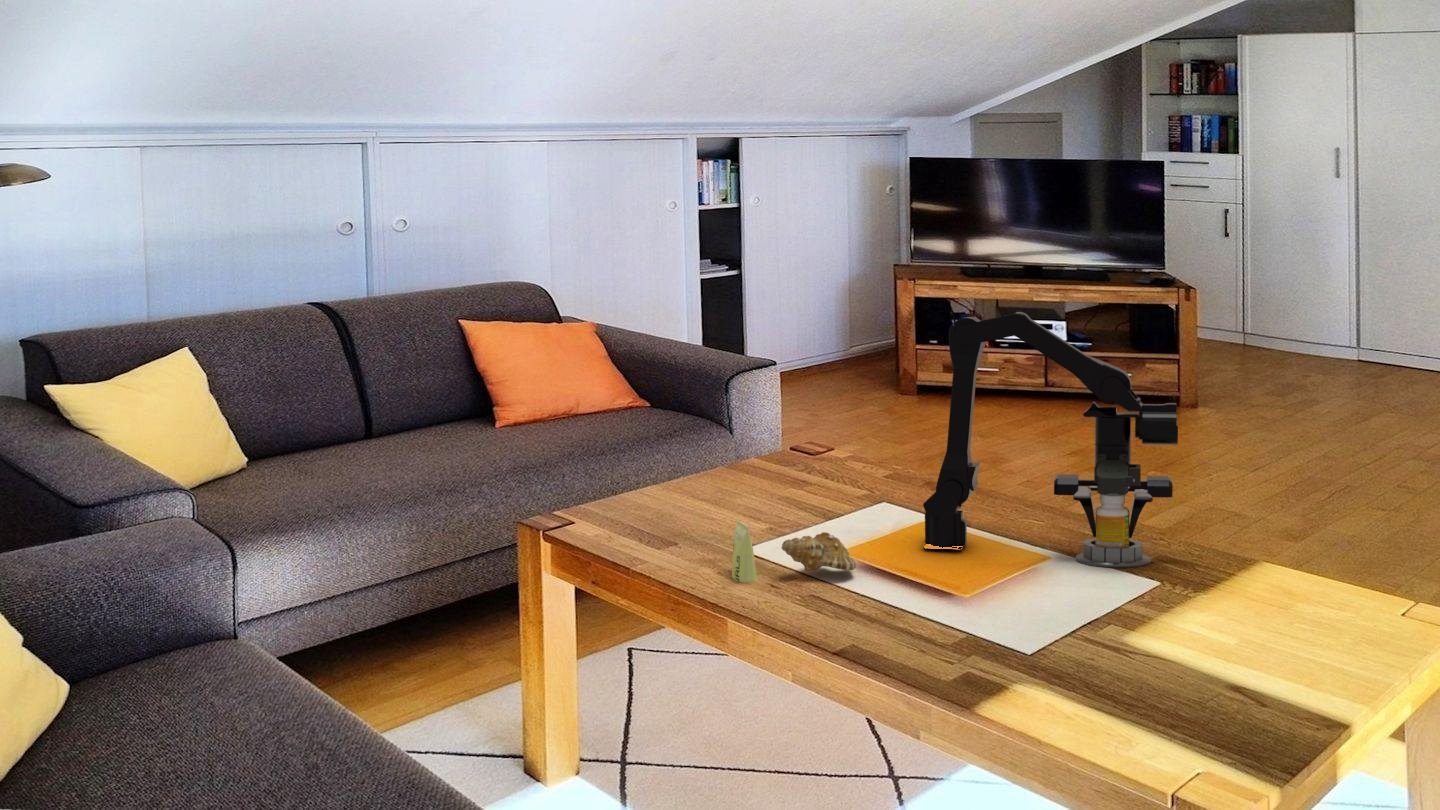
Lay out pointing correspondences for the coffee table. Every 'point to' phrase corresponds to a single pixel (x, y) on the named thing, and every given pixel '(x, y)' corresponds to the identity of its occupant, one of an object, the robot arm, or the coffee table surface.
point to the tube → (743, 555)
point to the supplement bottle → (1112, 521)
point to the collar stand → (1113, 555)
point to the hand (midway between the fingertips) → (1112, 537)
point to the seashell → (819, 552)
